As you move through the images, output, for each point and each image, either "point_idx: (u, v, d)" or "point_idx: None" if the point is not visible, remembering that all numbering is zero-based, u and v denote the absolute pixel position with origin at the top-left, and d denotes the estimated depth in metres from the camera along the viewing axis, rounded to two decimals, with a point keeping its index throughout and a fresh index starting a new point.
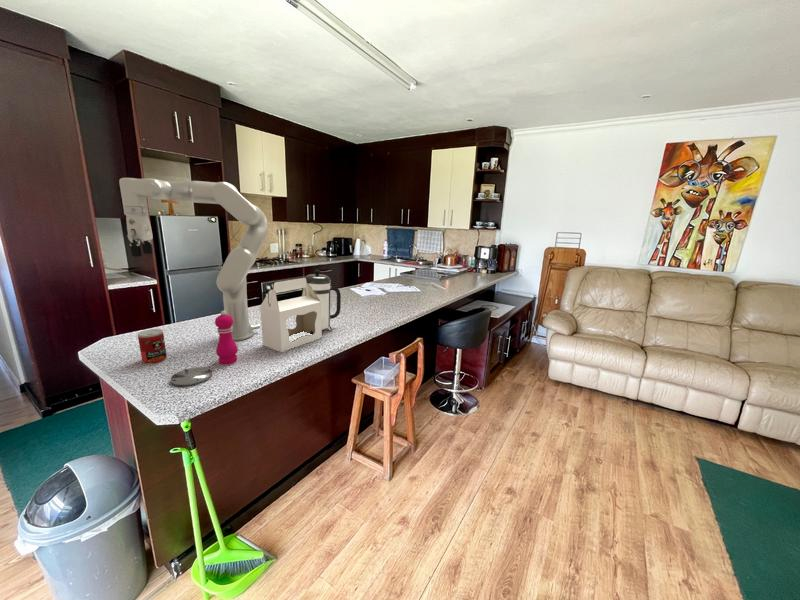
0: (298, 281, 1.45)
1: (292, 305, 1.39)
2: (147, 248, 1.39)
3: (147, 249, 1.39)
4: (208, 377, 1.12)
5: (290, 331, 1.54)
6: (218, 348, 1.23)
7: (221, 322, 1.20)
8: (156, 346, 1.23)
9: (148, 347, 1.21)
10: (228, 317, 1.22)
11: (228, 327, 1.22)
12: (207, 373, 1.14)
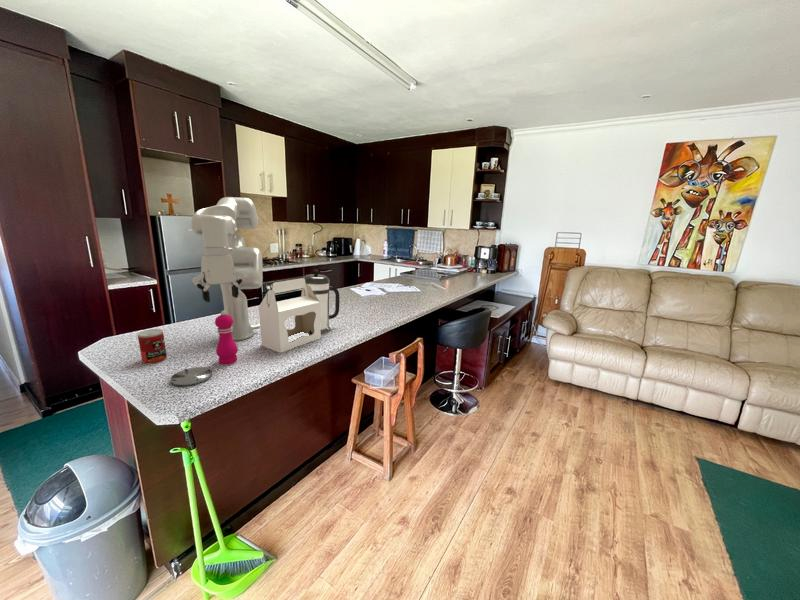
0: (297, 281, 1.45)
1: (291, 305, 1.39)
2: None
3: None
4: (208, 377, 1.12)
5: (289, 331, 1.54)
6: (218, 348, 1.23)
7: (221, 322, 1.20)
8: (156, 346, 1.23)
9: (148, 347, 1.21)
10: (228, 317, 1.22)
11: (228, 327, 1.22)
12: (207, 373, 1.14)
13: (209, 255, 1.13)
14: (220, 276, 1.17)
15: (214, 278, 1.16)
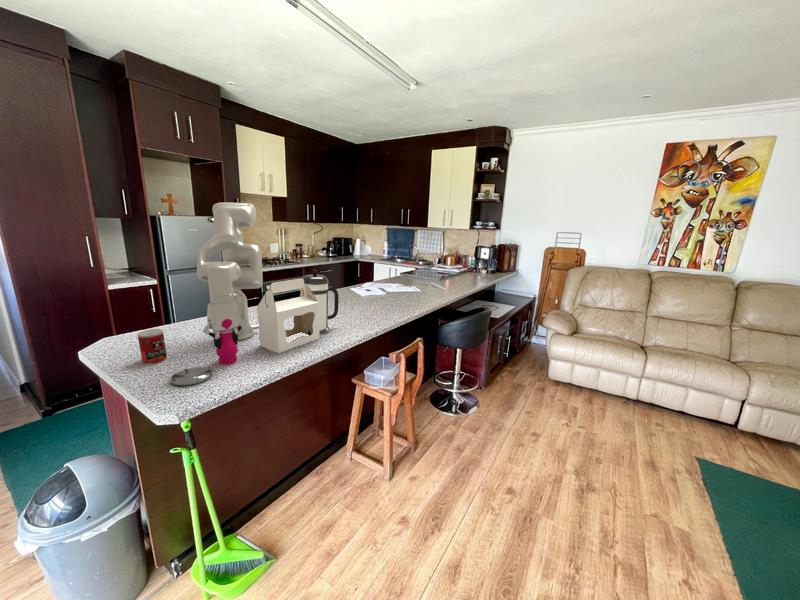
0: (296, 281, 1.44)
1: (289, 305, 1.38)
2: None
3: None
4: (208, 377, 1.12)
5: (288, 332, 1.53)
6: None
7: None
8: (156, 346, 1.23)
9: (148, 347, 1.21)
10: None
11: (228, 327, 1.22)
12: (207, 373, 1.14)
13: (215, 303, 1.18)
14: None
15: (219, 325, 1.20)
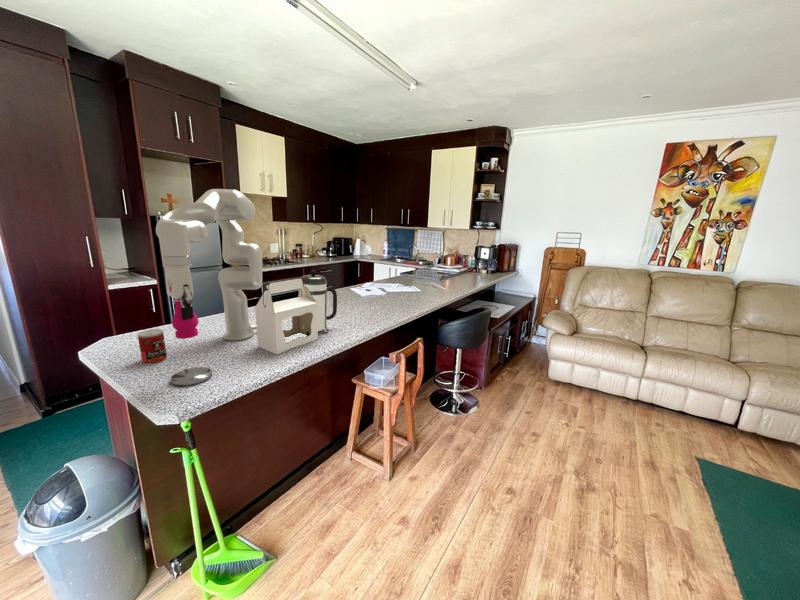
0: (294, 282, 1.44)
1: (287, 306, 1.38)
2: None
3: None
4: (208, 377, 1.12)
5: (286, 332, 1.53)
6: None
7: None
8: (156, 346, 1.23)
9: (148, 347, 1.21)
10: None
11: None
12: (207, 373, 1.14)
13: (188, 264, 1.03)
14: None
15: None
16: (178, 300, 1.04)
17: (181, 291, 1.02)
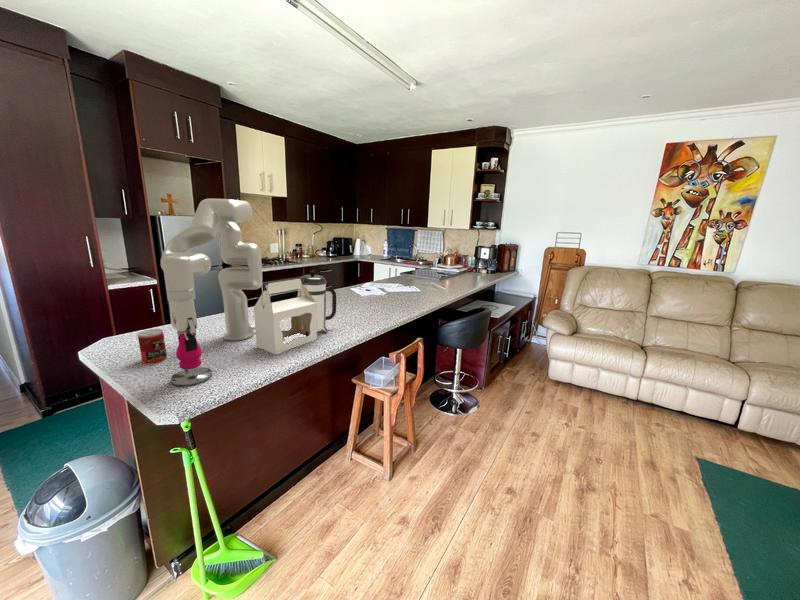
0: (293, 282, 1.43)
1: (286, 306, 1.37)
2: None
3: None
4: (208, 377, 1.12)
5: (285, 333, 1.52)
6: (193, 350, 1.09)
7: None
8: (156, 346, 1.23)
9: (148, 347, 1.21)
10: None
11: None
12: (207, 373, 1.14)
13: (192, 298, 1.06)
14: None
15: None
16: (182, 332, 1.07)
17: (185, 324, 1.04)
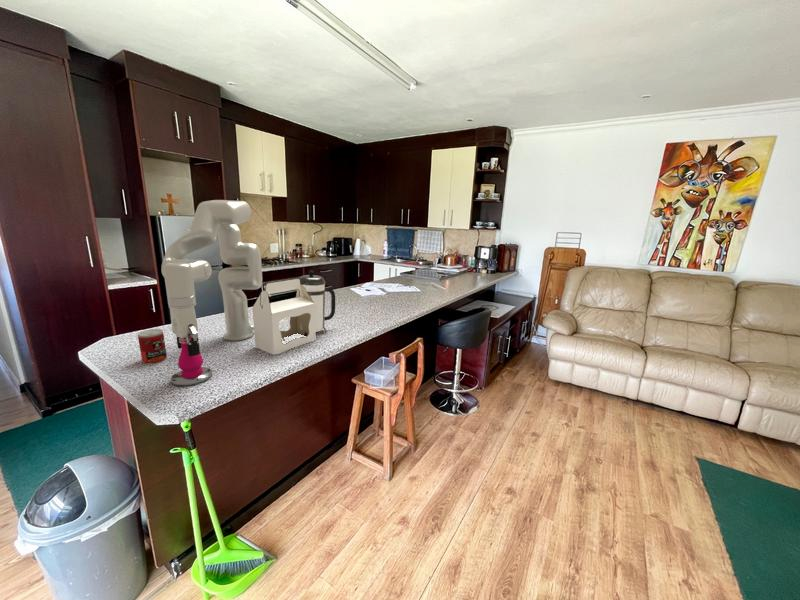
0: (291, 282, 1.43)
1: (285, 306, 1.37)
2: None
3: None
4: (208, 377, 1.12)
5: (284, 333, 1.52)
6: (195, 359, 1.10)
7: None
8: (156, 346, 1.23)
9: (148, 347, 1.21)
10: None
11: None
12: (207, 373, 1.14)
13: (192, 304, 1.06)
14: None
15: None
16: (184, 342, 1.08)
17: (186, 331, 1.05)
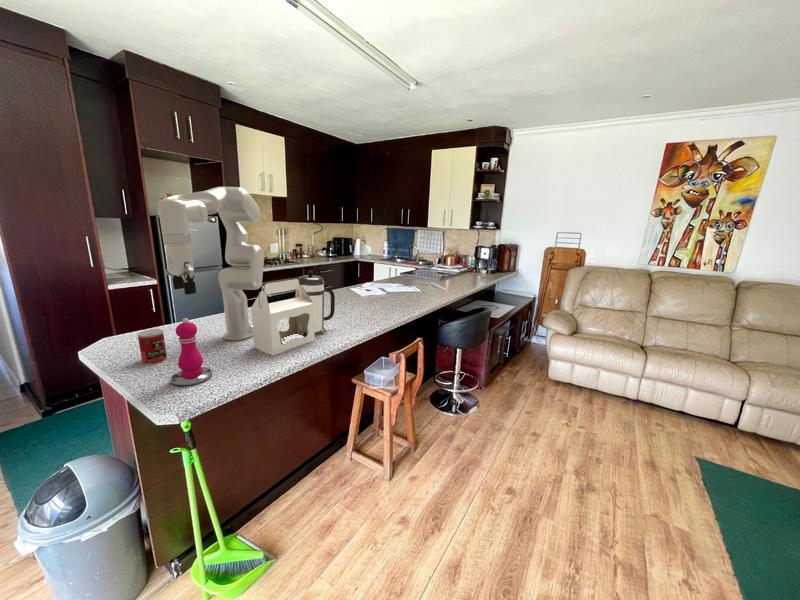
0: (290, 282, 1.42)
1: (283, 307, 1.36)
2: None
3: None
4: (208, 377, 1.12)
5: (283, 333, 1.51)
6: (195, 359, 1.10)
7: (196, 328, 1.10)
8: (156, 346, 1.23)
9: (148, 347, 1.21)
10: None
11: None
12: (207, 373, 1.14)
13: (188, 242, 1.07)
14: None
15: None
16: (184, 342, 1.08)
17: (182, 268, 1.05)
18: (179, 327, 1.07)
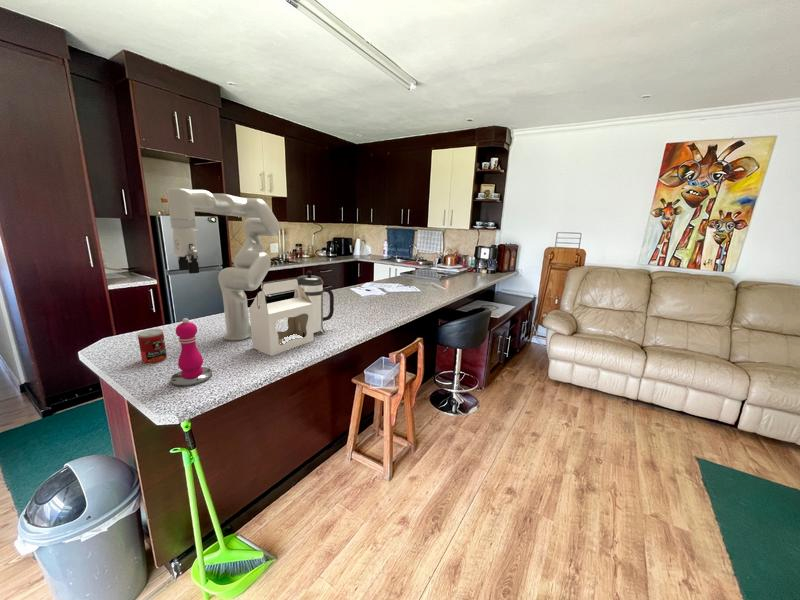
0: (289, 282, 1.42)
1: (282, 307, 1.36)
2: None
3: None
4: (208, 377, 1.12)
5: (281, 334, 1.51)
6: (195, 359, 1.10)
7: (196, 328, 1.10)
8: (156, 346, 1.23)
9: (148, 347, 1.21)
10: None
11: None
12: (207, 373, 1.14)
13: (192, 227, 1.19)
14: None
15: None
16: (184, 342, 1.08)
17: (187, 249, 1.17)
18: (179, 327, 1.07)
